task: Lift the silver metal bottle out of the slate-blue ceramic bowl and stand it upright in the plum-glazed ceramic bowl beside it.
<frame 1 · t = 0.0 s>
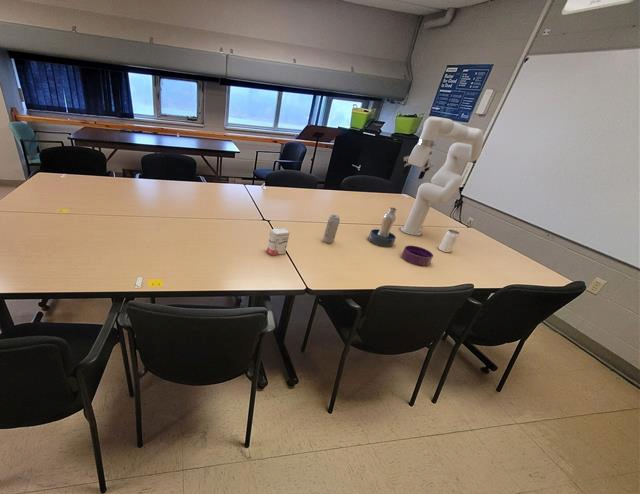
hand: (412, 176, 177), 37 cm above the table, tool pointing down, fingers open, 9 cm apart
blue bowl: (380, 241, 187), on the table
ink box: (275, 252, 159), on the table
plum bowl: (415, 259, 171), on the table
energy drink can: (327, 241, 178), on the table
can: (444, 250, 188), on the table
silver metal bottle: (380, 241, 187), resting on blue bowl
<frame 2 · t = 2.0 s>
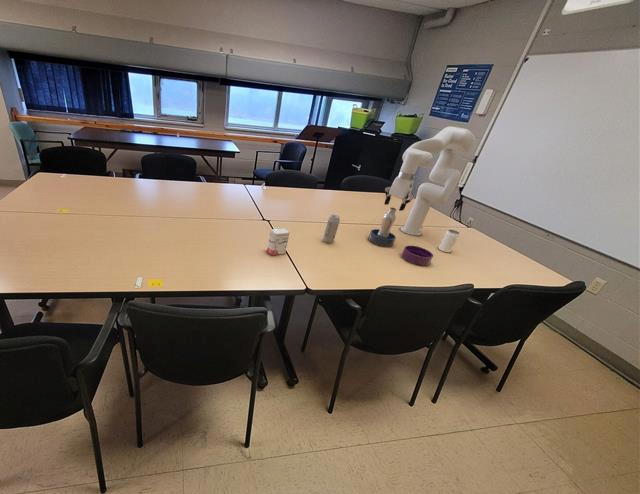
hand: (393, 207, 176), 21 cm above the table, tool pointing down, fingers open, 9 cm apart
nothing on the table moved.
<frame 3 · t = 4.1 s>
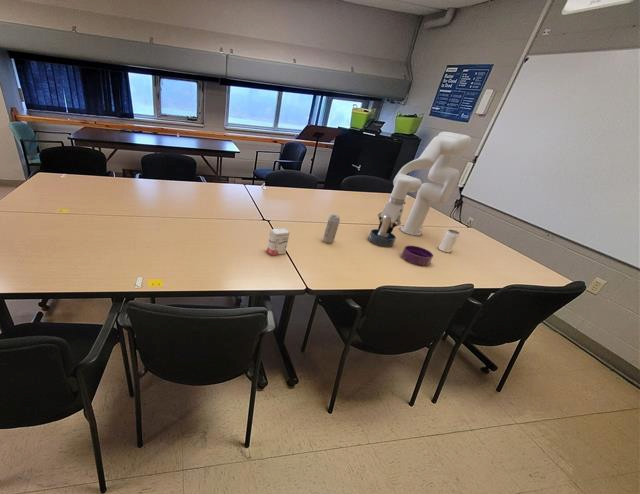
hand: (384, 230, 183), 7 cm above the table, tool pointing down, fingers closed on silver metal bottle, 5 cm apart
silver metal bottle: (380, 241, 187), resting on blue bowl, touching gripper
everything else where it was.
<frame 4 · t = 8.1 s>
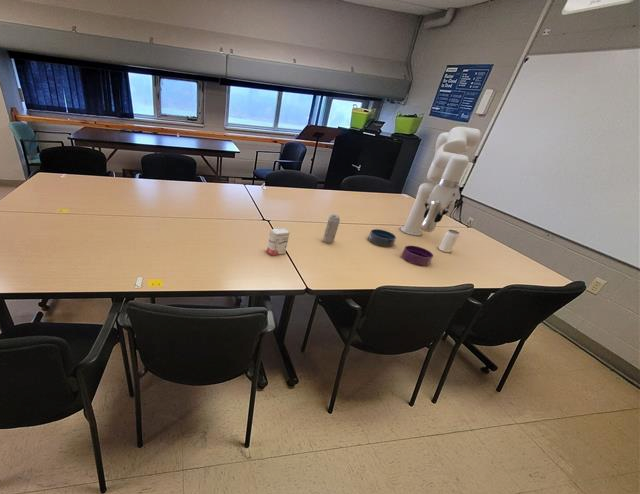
hand: (431, 219, 160), 23 cm above the table, tool pointing down, fingers closed on silver metal bottle, 5 cm apart
silver metal bottle: (425, 231, 164), point 16 cm above the table, touching gripper
everything else where it was.
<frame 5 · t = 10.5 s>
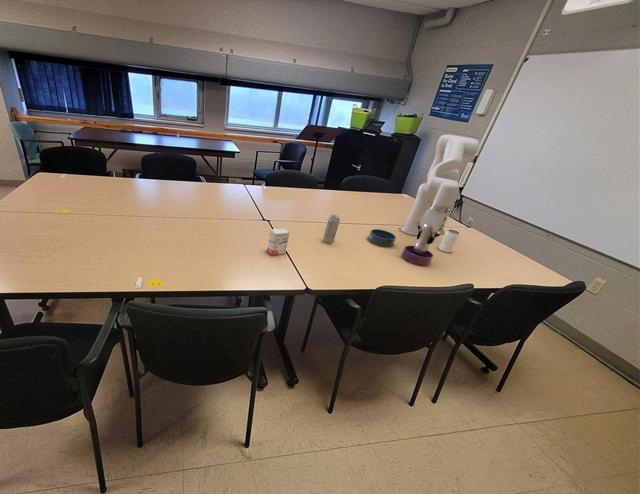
hand: (423, 241, 165), 11 cm above the table, tool pointing down, fingers closed on silver metal bottle, 5 cm apart
silver metal bottle: (418, 252, 169), point 4 cm above the table, touching gripper
everything else where it was.
when the fingers open (7 cm above the table, at t = 12.0 s): silver metal bottle stays where it is, resting on plum bowl.
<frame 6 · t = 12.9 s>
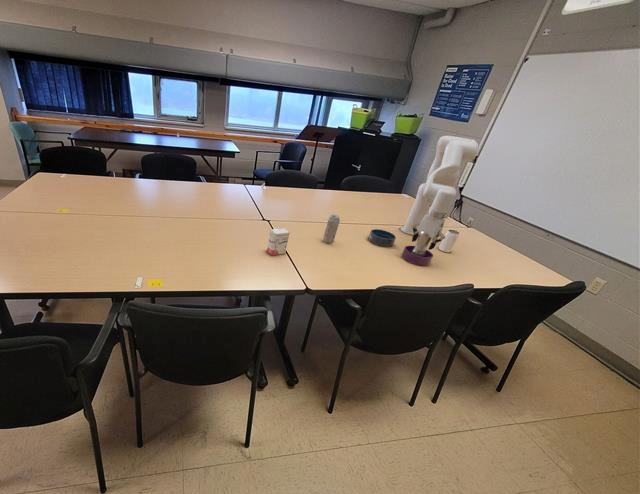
hand: (421, 245, 167), 9 cm above the table, tool pointing down, fingers open, 9 cm apart
silver metal bottle: (415, 259, 171), resting on plum bowl
everything else where it was.
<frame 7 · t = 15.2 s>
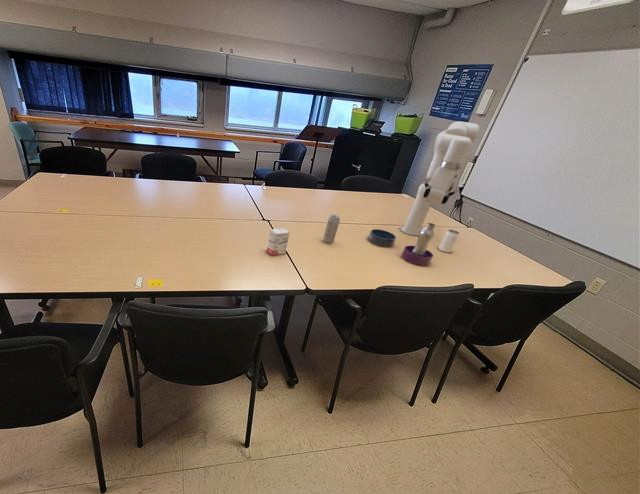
hand: (433, 200, 162), 31 cm above the table, tool pointing down, fingers open, 9 cm apart
nothing on the table moved.
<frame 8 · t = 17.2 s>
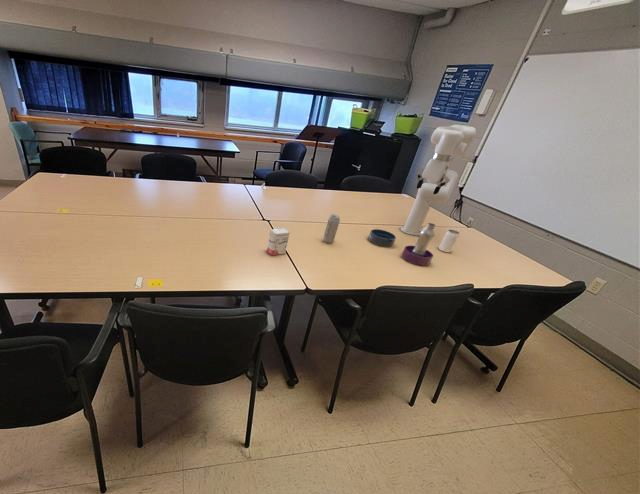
hand: (426, 191, 170), 32 cm above the table, tool pointing down, fingers open, 9 cm apart
nothing on the table moved.
at the end: silver metal bottle 0.0 cm off-centre in the plum bowl, point 0.3 cm above the plum bowl's base; silver metal bottle tilted 0°; the gripper is holding nothing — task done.
